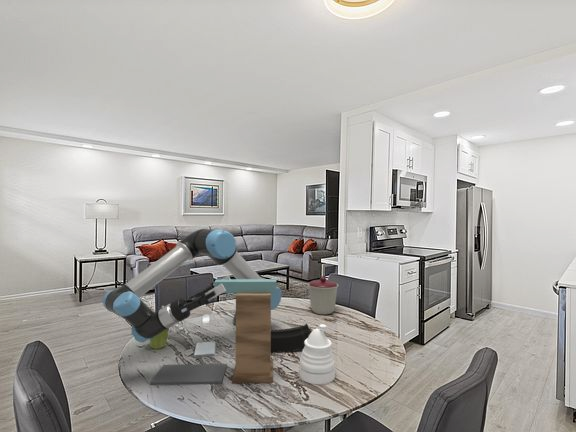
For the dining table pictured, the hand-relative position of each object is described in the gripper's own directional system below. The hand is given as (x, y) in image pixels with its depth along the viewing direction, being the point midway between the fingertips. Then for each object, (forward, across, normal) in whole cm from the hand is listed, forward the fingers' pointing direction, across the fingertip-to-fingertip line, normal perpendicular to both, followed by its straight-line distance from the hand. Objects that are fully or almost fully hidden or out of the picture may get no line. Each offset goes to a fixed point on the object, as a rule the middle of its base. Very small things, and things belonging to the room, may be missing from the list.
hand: (227, 282), depth 109 cm
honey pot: (+12, -1, +45) cm, 47 cm away
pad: (-28, 0, +22) cm, 36 cm away
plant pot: (-46, +24, +12) cm, 53 cm away
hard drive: (-28, +20, +23) cm, 41 cm away
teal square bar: (+4, 0, +6) cm, 7 cm away
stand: (-8, 0, +34) cm, 35 cm away
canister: (+22, +68, +52) cm, 89 cm away
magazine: (0, +18, +39) cm, 43 cm away
